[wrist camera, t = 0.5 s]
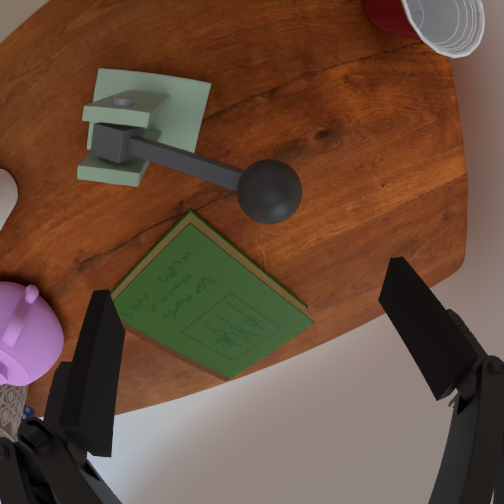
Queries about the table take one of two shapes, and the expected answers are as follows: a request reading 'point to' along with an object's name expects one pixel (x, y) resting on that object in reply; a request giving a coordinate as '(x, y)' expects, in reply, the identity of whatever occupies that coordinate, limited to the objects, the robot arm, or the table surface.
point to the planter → (11, 409)
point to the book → (207, 301)
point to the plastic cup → (432, 22)
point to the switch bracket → (143, 117)
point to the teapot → (26, 334)
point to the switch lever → (208, 171)
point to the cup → (7, 195)
